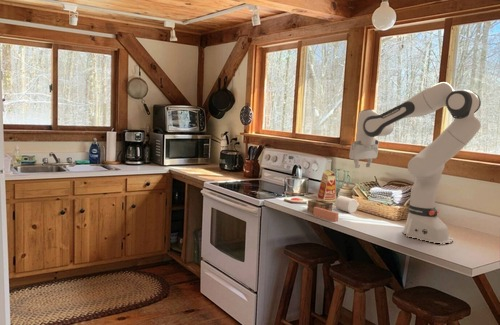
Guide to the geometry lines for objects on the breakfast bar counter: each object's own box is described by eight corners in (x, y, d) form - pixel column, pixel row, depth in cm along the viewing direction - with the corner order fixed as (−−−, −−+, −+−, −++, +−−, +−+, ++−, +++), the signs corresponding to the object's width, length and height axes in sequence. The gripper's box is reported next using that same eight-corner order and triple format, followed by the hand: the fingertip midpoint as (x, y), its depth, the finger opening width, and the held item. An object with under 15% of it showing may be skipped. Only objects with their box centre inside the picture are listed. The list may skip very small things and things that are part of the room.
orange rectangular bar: (337, 221, 230) (338, 213, 229) (335, 222, 228) (335, 213, 228) (315, 214, 241) (316, 206, 240) (313, 215, 239) (313, 207, 239)
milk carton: (316, 198, 285) (319, 167, 282) (328, 197, 288) (331, 167, 286) (324, 201, 276) (327, 169, 274) (336, 201, 280) (339, 169, 278)
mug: (347, 213, 248) (348, 199, 247) (334, 209, 256) (335, 196, 255) (361, 212, 254) (363, 198, 253) (348, 208, 263) (349, 194, 262)
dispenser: (331, 213, 246) (332, 202, 245) (320, 215, 240) (321, 204, 239) (318, 209, 253) (318, 199, 252) (307, 211, 247) (308, 200, 247)
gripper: (357, 141, 221) (355, 169, 222) (381, 141, 234) (378, 167, 235) (347, 140, 225) (345, 167, 227) (370, 140, 239) (368, 166, 240)
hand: (362, 167), depth 231 cm, fingers open, 8 cm apart
